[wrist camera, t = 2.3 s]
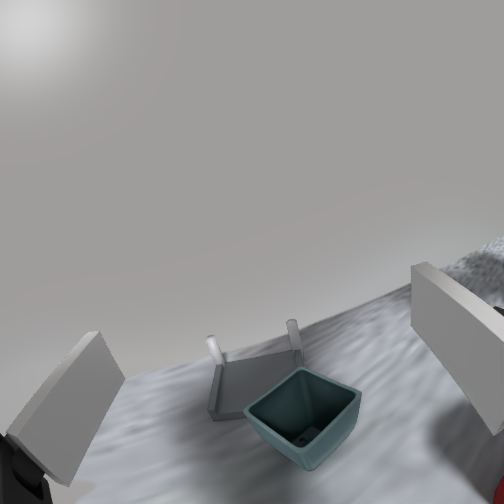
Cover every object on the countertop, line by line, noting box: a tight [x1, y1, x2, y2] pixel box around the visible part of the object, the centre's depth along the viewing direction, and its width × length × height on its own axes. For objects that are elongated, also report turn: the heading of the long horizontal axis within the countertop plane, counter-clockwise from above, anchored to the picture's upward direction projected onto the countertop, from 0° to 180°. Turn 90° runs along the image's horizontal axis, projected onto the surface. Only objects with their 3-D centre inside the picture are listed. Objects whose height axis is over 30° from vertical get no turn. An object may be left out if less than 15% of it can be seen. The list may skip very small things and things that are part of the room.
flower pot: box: [243, 367, 362, 471], centre depth 26 cm, size 9×9×9 cm
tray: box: [206, 319, 304, 421], centre depth 39 cm, size 15×12×8 cm
